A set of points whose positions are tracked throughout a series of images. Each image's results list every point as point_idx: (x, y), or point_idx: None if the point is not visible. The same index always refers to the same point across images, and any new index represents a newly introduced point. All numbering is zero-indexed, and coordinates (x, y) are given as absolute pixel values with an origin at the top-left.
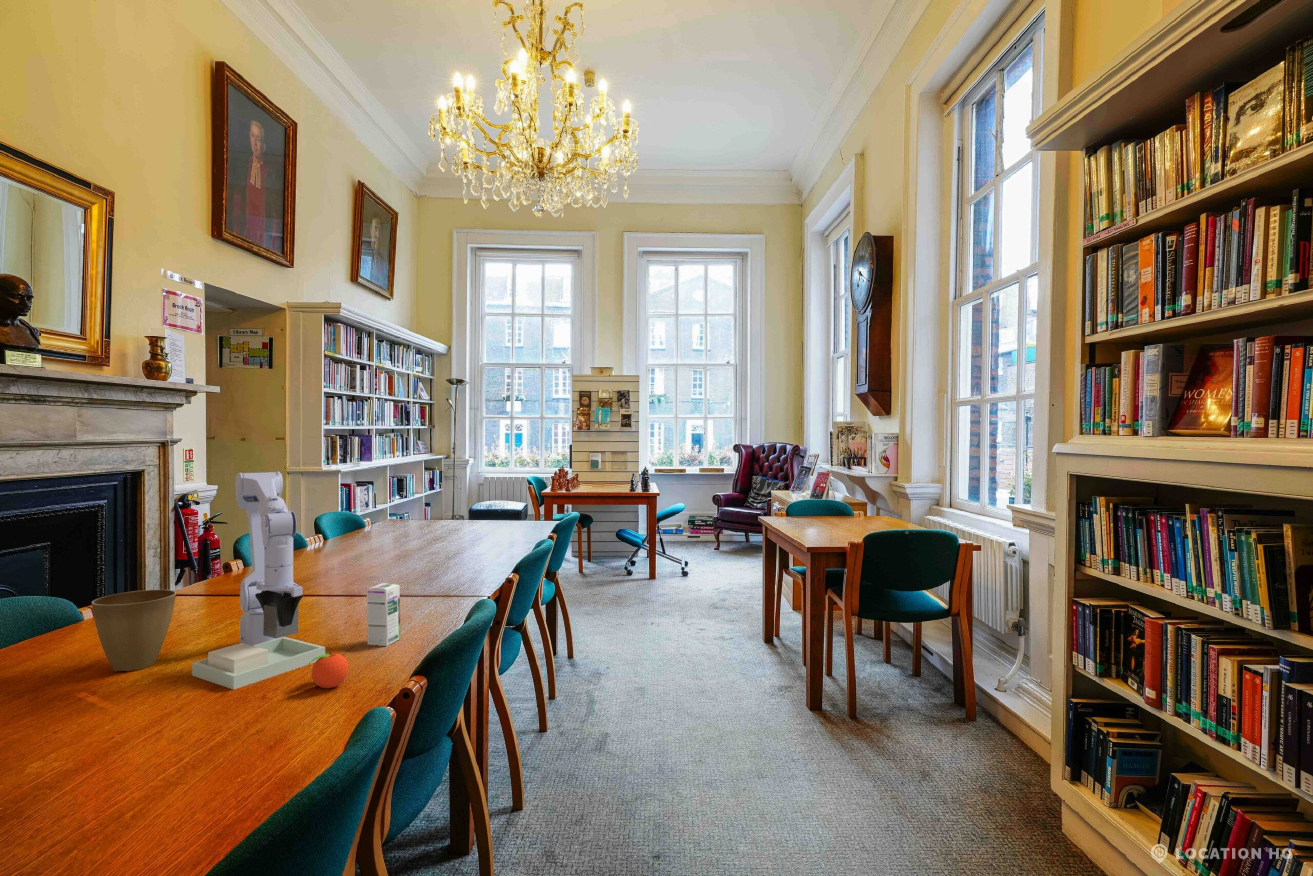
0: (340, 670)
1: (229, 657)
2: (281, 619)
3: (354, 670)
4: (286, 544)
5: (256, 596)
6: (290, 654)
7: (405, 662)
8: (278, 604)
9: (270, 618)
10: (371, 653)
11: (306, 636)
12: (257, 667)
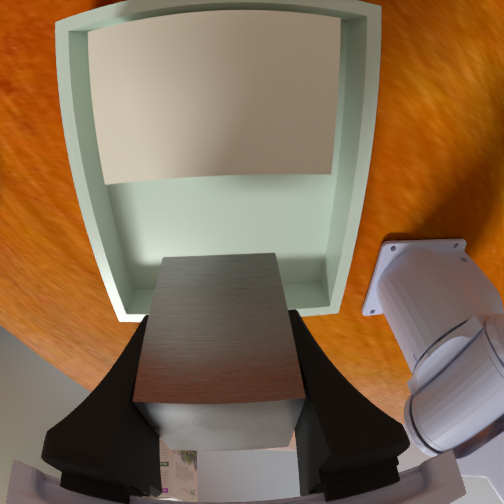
0: None
1: (144, 26)
2: (130, 342)
3: (33, 288)
4: None
5: (387, 433)
6: None
7: (29, 344)
8: (96, 420)
9: (213, 330)
10: (115, 354)
11: (362, 345)
12: (72, 108)
